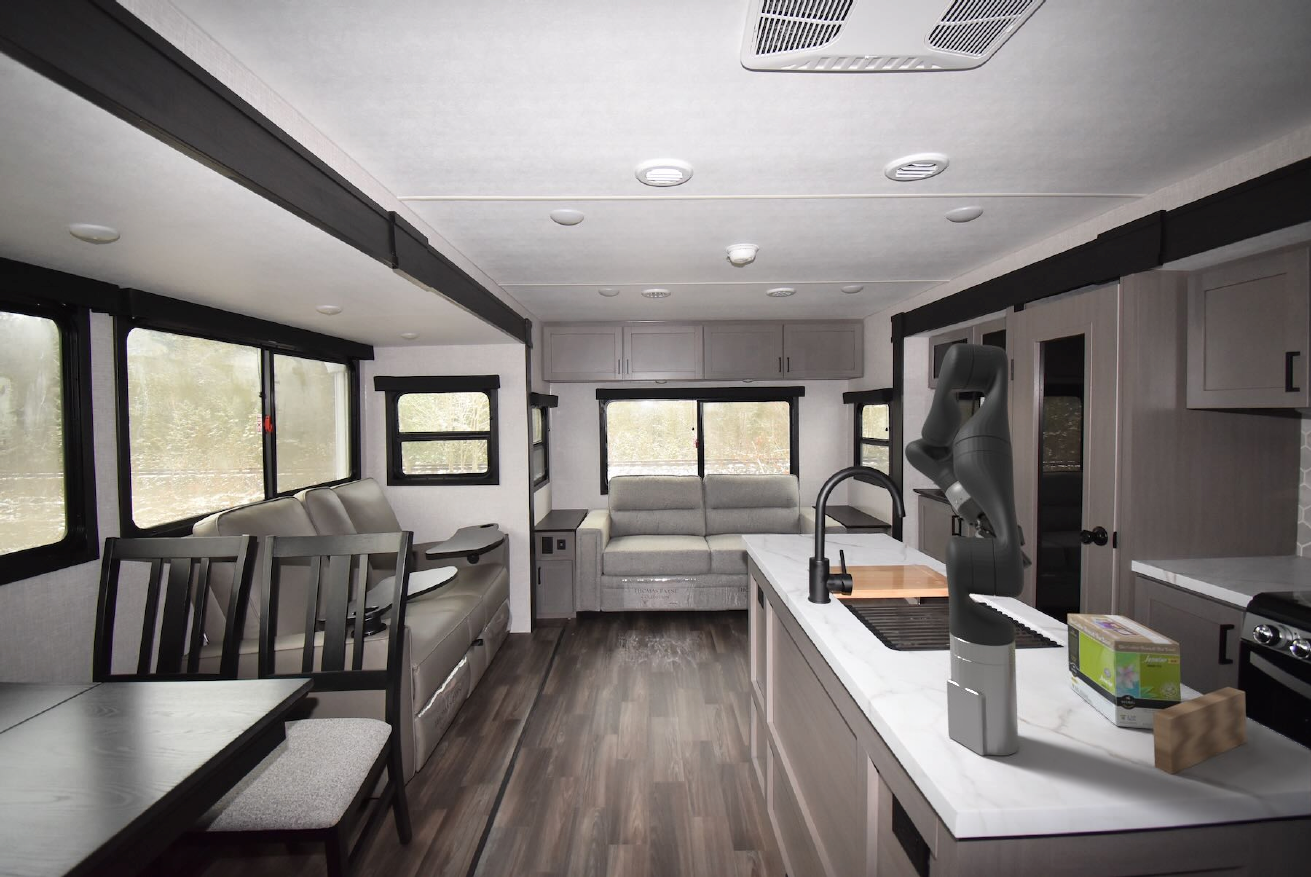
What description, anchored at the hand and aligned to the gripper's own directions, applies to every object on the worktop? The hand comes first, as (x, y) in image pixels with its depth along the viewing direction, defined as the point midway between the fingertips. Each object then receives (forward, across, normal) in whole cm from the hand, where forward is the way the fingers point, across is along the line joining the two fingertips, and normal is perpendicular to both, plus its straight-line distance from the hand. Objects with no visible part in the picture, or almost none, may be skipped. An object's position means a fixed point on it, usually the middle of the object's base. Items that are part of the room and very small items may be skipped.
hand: (1026, 566), depth 113 cm
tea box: (+27, 0, +4) cm, 28 cm away
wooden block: (+37, -5, -6) cm, 37 cm away
